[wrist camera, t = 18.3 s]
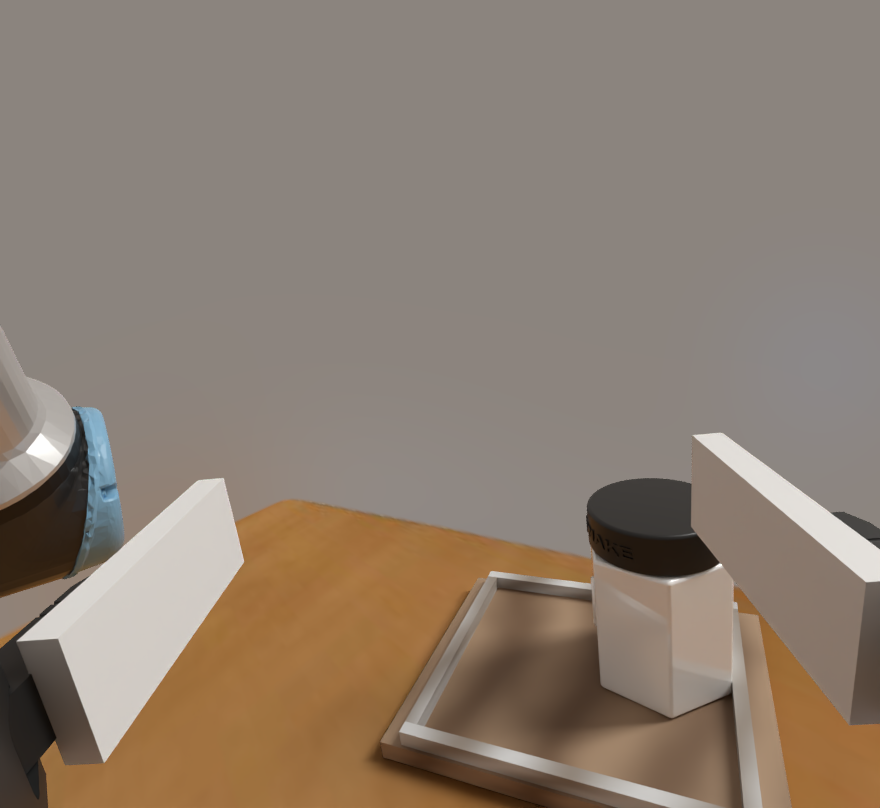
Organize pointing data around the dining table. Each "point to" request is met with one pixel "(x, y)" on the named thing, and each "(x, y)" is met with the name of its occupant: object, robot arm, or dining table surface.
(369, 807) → the dining table surface
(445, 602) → the dining table surface
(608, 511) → the jar
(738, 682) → the tray
